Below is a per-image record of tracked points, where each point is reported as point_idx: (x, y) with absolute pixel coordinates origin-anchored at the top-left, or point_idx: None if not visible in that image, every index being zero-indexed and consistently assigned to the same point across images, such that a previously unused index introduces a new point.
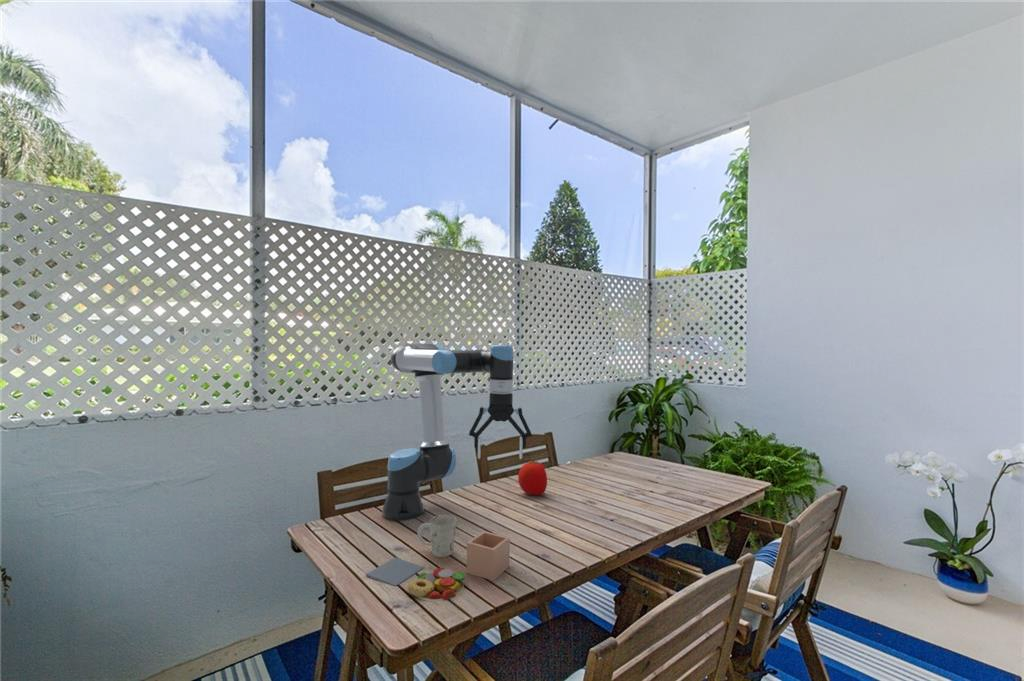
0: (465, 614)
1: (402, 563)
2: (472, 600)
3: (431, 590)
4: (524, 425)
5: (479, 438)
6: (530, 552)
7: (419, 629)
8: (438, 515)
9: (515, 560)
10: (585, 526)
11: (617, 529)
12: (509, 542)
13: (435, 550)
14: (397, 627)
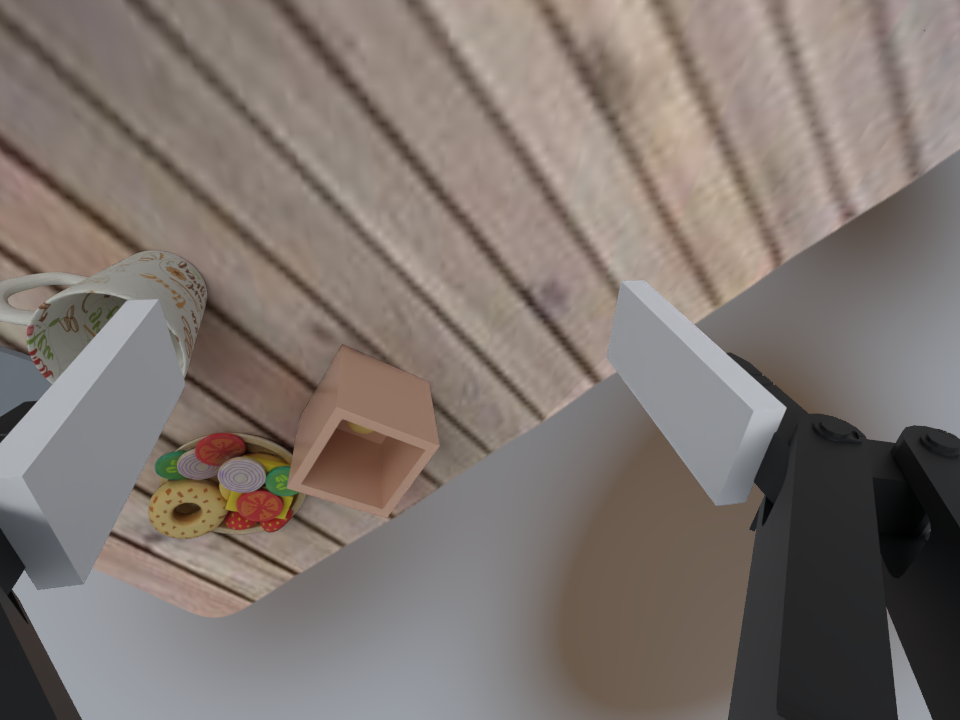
0: (331, 542)
1: (42, 382)
2: (338, 504)
3: (225, 516)
4: (939, 689)
5: (68, 584)
6: (507, 273)
7: (245, 584)
8: (51, 301)
9: (450, 328)
10: (804, 17)
11: (912, 63)
12: (437, 436)
13: None
14: (194, 586)
